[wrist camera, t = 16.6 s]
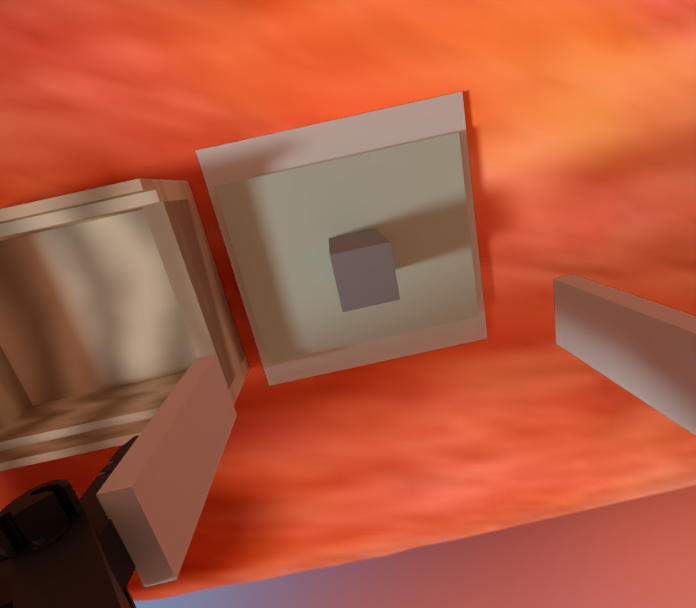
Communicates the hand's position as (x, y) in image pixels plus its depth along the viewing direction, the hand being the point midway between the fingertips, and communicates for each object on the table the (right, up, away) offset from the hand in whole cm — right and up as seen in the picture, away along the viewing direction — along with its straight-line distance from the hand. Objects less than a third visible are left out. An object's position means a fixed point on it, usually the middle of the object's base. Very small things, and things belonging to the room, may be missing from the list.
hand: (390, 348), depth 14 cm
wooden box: (-24, +1, +20) cm, 31 cm away
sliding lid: (-1, +6, +19) cm, 20 cm away
